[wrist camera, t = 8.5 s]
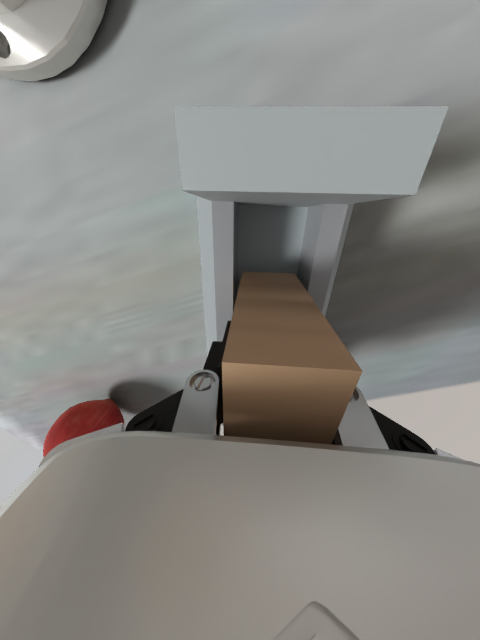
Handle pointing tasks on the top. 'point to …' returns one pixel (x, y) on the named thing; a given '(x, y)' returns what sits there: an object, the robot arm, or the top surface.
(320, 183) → the track
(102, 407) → the onion
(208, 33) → the top surface
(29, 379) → the top surface
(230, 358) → the door slab
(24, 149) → the top surface
